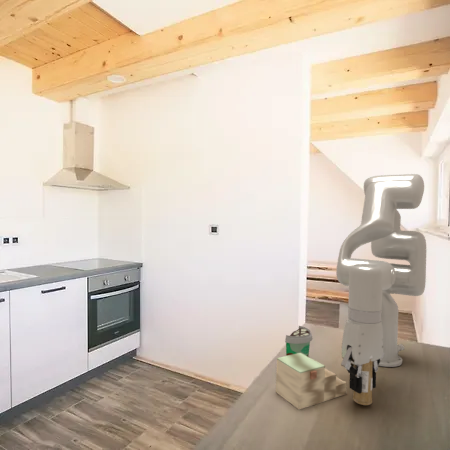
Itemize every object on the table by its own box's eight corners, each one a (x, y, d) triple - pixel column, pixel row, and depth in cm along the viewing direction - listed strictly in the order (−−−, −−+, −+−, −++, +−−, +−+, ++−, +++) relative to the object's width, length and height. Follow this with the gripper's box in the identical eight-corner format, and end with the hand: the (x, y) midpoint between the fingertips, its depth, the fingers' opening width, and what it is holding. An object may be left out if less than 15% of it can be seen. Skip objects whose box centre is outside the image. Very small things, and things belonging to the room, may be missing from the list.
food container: (304, 373, 99) (305, 339, 99) (284, 368, 103) (285, 335, 102) (316, 359, 110) (317, 328, 110) (298, 354, 113) (299, 325, 113)
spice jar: (376, 402, 83) (377, 348, 82) (364, 408, 80) (366, 352, 80) (359, 393, 87) (360, 342, 86) (348, 399, 84) (349, 346, 84)
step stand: (320, 379, 96) (321, 347, 96) (347, 394, 88) (348, 360, 88) (275, 392, 88) (276, 358, 88) (300, 410, 80) (301, 373, 80)
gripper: (373, 306, 90) (372, 373, 91) (327, 315, 82) (326, 389, 83) (400, 314, 83) (398, 386, 84) (353, 325, 75) (351, 405, 76)
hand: (362, 387), depth 83 cm, fingers closed on spice jar, 4 cm apart
